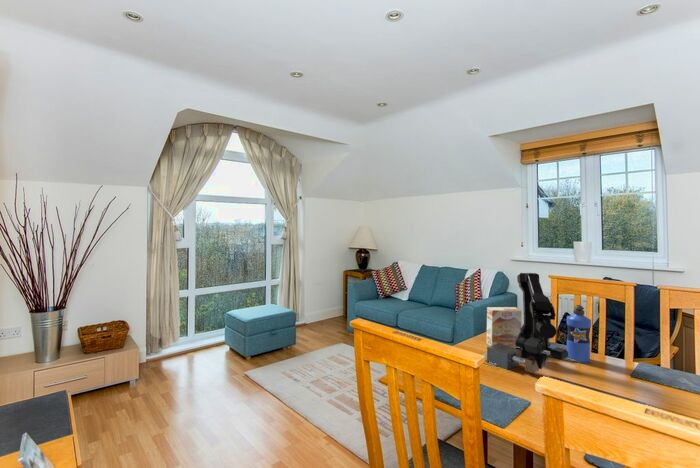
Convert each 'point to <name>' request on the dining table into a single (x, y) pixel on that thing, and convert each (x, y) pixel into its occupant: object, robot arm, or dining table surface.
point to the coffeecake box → (503, 325)
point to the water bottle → (578, 336)
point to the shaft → (527, 363)
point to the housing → (502, 355)
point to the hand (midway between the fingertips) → (540, 368)
